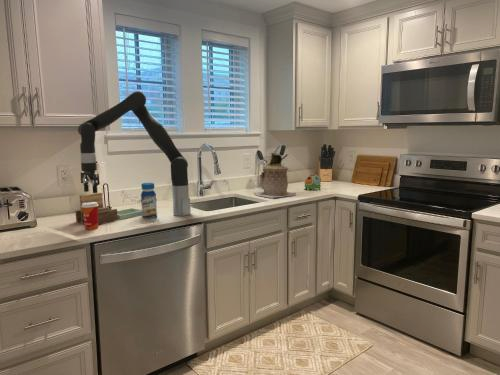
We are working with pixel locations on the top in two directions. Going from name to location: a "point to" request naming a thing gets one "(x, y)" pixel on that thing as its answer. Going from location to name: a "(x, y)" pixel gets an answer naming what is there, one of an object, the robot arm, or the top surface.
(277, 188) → the utensil crock
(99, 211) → the offcut
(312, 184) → the turtle holder
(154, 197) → the beverage bottle
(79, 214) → the rack
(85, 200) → the wood grain block
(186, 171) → the robot arm
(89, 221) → the paper cup
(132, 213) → the tray
